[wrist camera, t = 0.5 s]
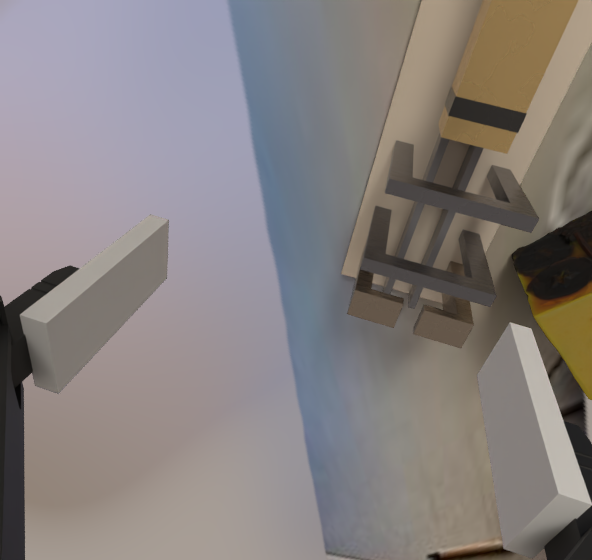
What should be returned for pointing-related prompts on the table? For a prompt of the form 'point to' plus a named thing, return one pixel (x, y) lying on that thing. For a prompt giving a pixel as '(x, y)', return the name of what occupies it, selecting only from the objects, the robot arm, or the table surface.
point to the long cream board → (448, 153)
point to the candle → (563, 292)
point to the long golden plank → (502, 70)
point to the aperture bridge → (431, 322)
